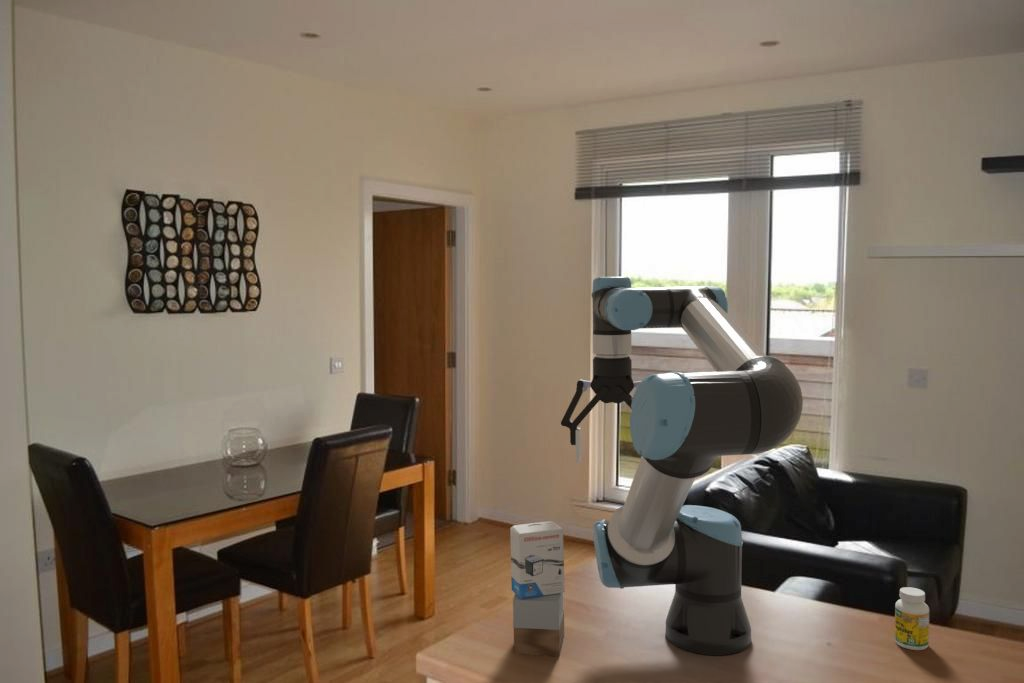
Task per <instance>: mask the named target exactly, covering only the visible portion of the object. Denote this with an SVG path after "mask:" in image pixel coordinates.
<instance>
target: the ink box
mask: <svg viewBox="0 0 1024 683" xmlns="http://www.w3.org/2000/svg"><path fill="white" fill-rule="evenodd" d="M509 531H510V535H509V536H510V537H509V538H510V565H511V566H510V569H511V570H510V571H511V573H510V575H511V578H510V579H511V580H510V581H511V591H512V592H513V593H514V595H515V594H516V595H517V596H518V597H519V598H521V599H524V598H531V597H537V596H544V595H551V594H557V593H563V594H564V593H565V560H564V559H565V556H564V554H565V552H564V548H565V547H564V528H563V527H562V526H560V525H558V524H557V523H556V522H554V521H552V520H548V521H547V520H546V521H539V522H531V523H523V524H515V525H512V526H511V527H510V530H509Z"/></svg>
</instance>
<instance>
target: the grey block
mask: <svg viewBox="0 0 1024 683" xmlns="http://www.w3.org/2000/svg"><path fill="white" fill-rule="evenodd" d="M563 610H564V593H557V594H551V595H544V596H537V597H531V598H524V599H521V598H519V597H518V596H517V595H516V594H515V593H514V596H513V598H512V616H513V617H512V619H513V620H512V622H513V626H512V627H513V629H514V628H530V629H550V630H559V628H560V623H561V618H562V613H563Z"/></svg>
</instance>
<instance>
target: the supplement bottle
mask: <svg viewBox="0 0 1024 683" xmlns="http://www.w3.org/2000/svg"><path fill="white" fill-rule="evenodd" d="M899 598H900V599H898V600H897V601H896V602H895V604H894V605H895V606H894V608H895V609H894V640H895V643H896V644H897V645H898V646H900V647H901V648H904V649H906V650H911V651H912V650H913V651H922V650H926V649H927V648H928V647H929V644H930V636H929V635H930V634H929V633H930V607H929V606H928V604H926V602H925V601H926V592H925V591H924V590H922V589H919V588H916V587H910V586H909V587H905V586H903V587H901V588H900V589H899Z"/></svg>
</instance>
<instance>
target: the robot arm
mask: <svg viewBox="0 0 1024 683" xmlns="http://www.w3.org/2000/svg"><path fill="white" fill-rule="evenodd" d="M591 299H592V354H593V355H595V356H594V357H592V380H584V379H583V378H579V379H578V380H577V382H576V391H575V393H574V394H573V397H572V399H571V401H570V403H569V405H568V407H567V409H566V411H565V414H564V415H563V417H562V420H561V421H560V424H561V426H562V427H566V428H567V429H569V432H570V433H569V435H570V436H569V437H570V438H569V439H570V440H569V443H570V445H571V446H575V463H577V464H578V463H581V461H582V427H578V426H579V425H580V423H582V421H583V420H585V418H586V416H588V414H590V412H591V411H592V410H593V409H594V407H595V406H596V405H597V404H598V403H599V402H602V403H603V404H610V403H614V404H621V403H623V402H625V404H626V405H627V406H628V407H629V408H630V410H631V412H630V414H629V432H630V438H631V441H632V445H633V447H634V449H635V452H637V454H638V455H639V456H641V457H640V460H639V462H638V464H637V467H636V470H635V473H634V476H633V479H632V481H631V484H630V487H629V490H628V494H627V496H626V499H625V500H624V501H625V502H624V504H623V505H622V506H619V507H618V508H617V509H616V510H614V512H612V514H611V516H610V518H609V520H607V519H602V520H597V521H595V523H594V524H593V529H592V530H593V543H594V552H595V559H596V566H597V570H598V575H599V580H600V582H601V583H602V585H603V586H604V587H605V588H611V589H612V588H613V589H625V588H634V587H636V588H638V587H650V586H651V587H652V586H667V585H669V586H670V585H675V590H674V591H675V592H674V595H673V598H672V600H671V604H670V607H669V609H668V612H667V616H666V619H665V636H666V638H667V640H669V642H671V644H673V645H675V646H676V647H679V648H680V649H681V650H685V651H688V652H692V653H695V654H701V655H710V656H724V655H731V654H736V653H740V652H742V651H744V650H746V649H747V648H748V647H749V646H750V645H751V643H752V628H751V627H752V626H751V623H750V620H749V617H748V615H747V611H746V607H745V605H744V601H743V599H742V574H743V573H742V571H743V570H742V568H743V566H742V565H743V564H742V562H743V555H742V554H743V545H744V542H743V540H742V539H743V537H742V525H741V521H739V520H738V519H737V517H735V516H734V515H733V514H731V513H729V512H727V511H724V510H722V509H718V508H715V507H711V506H710V507H709V506H703V505H695V504H694V505H692V504H685V505H684V503H685V501H686V500H687V498H688V495H689V493H690V490H691V489H692V486H693V484H694V482H695V480H696V479H697V478H700V477H702V476H704V475H706V474H707V473H708V472H710V470H711V469H712V467H713V466H714V464H716V461H717V459H718V457H722V456H723V457H724V456H740V455H741V456H743V455H745V456H746V455H757V454H758V455H759V454H762V453H765V452H769V451H771V450H773V449H776V448H777V447H779V446H780V445H781V444H783V443H784V442H786V441H787V440H788V438H790V436H791V435H792V434H793V432H794V431H795V430H796V428H797V427H798V424H799V422H800V420H801V417H802V414H803V413H802V412H803V405H804V404H803V401H804V400H803V392H802V389H801V386H800V383H799V381H798V380H797V378H796V376H795V374H794V373H793V372H792V371H791V370H790V368H789V367H787V365H786V364H784V363H783V362H782V360H780V359H779V358H776V357H774V356H769V355H766V354H765V352H763V350H762V349H761V348H759V346H758V344H756V343H755V342H754V341H753V340H752V339H751V338H750V336H749V335H747V333H746V332H745V331H744V330H743V329H742V328H741V327H740V326H739V325H738V324H737V322H736V321H734V320H733V318H732V317H731V316H730V315H729V314H728V310H729V309H728V308H729V305H728V298H727V296H726V293H725V291H724V290H723V288H721V287H720V286H714V285H713V286H712V285H710V286H709V285H704V284H703V285H693V286H691V285H687V286H654V287H652V286H645V287H644V286H643V287H642V286H641V287H632V280H631V279H630V278H629V277H628V276H597V277H595V278H594V279H593V280H592V292H591ZM674 328H677V329H678V328H679V329H683V331H684V333H686V334H687V336H688V337H689V339H690V340H691V341H692V342H693V344H694V345H695V346H696V347H697V349H698V350H699V351H700V353H701V354H702V355H703V357H704V358H705V360H706V361H707V362H708V363H709V364H710V366H711V367H712V368H713V370H714V371H701V372H698V371H696V372H680V371H668V372H665V373H654V374H650V375H648V376H646V377H644V378H643V379H642V380H638V381H637V380H636V381H634V380H633V377H632V376H633V374H632V370H633V369H632V368H633V366H632V364H633V363H632V360H633V359H632V358H631V356H630V354H631V353H632V331H637V330H639V329H674ZM588 388H591V390H592V391H593V392H594V394H595V395H594V396H593V397H592V399H591V400H589V402H588V403H587V404H586V405H585V407H584V408H583V409H582V411H580V413H579V414H578V415H577V416H576V417H575V418H574V420H570V419H571V417H572V416H573V414H574V411H575V409H576V407H577V405H578V404H579V402H580V400H581V399H582V398H581V397H582V396H583V393H584V392H586V391H587V390H588ZM634 388H636V389H635V390H634V393H633V396H632V395H631V392H632V391H633V389H634Z"/></svg>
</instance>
